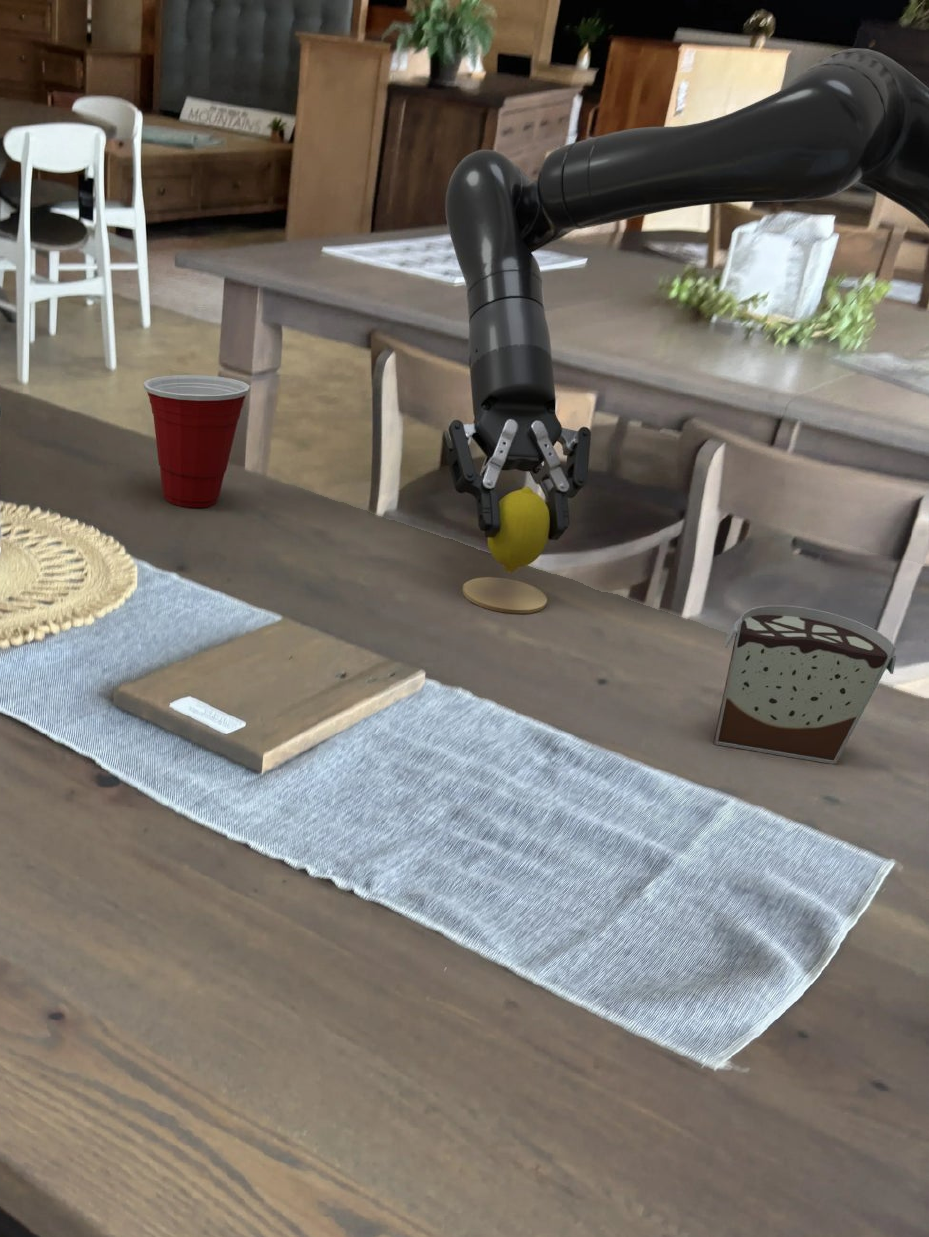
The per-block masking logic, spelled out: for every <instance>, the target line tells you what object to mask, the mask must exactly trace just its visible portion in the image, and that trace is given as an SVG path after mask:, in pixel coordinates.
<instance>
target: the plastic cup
mask: <svg viewBox="0 0 929 1237" xmlns="http://www.w3.org/2000/svg"><path fill="white" fill-rule="evenodd" d="M142 385H143V388H144V390H145V391H146V393H147V396H148V400H149V404H150V407H151V413H152V415H153V426H154V433H155V442H156V450H157V451H156V452H157V460H158V466H159V471H160V481H161V483H160V484H161V491H162V492H163V498H164V499H165V501H167V503H168V502H169V503H170V504H173V505H176V506H180V507H183V508H192V509H193V508H195V509H197V508H198V509H200V508H201V509H203V508H208V507H212V506H214V505H216V504H217V502H218V499H219V496H220V495H221V494H220V493H221V490H222V486H223V482H224V478H225V477H224V476H225V474H226V471H227V468H228V464H229V460H230V456H231V451H232V447H233V443H234V439H235V435H236V431H237V425H238V422H239V419H240V417H241V412H242V409H243V407H244V401H245V399H246V396H247V395H248V393H249V392H250V388H251V386H250V385H249V384H248V383H246V381H241V380H238V379H234V378H230V377H223V376H215V375H202V374H201V375H199V374H178V375H177V374H176V375H166V376H157V377H154V378H150V379H146V380H145V382H144V383H143V384H142Z"/></svg>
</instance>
